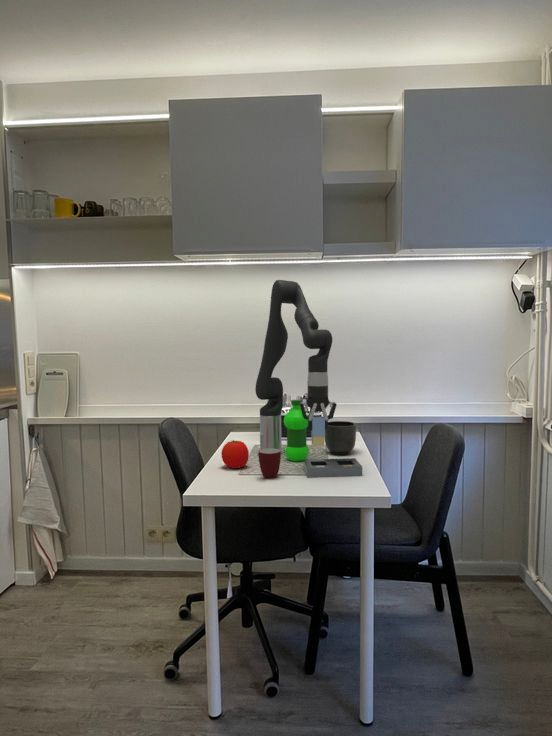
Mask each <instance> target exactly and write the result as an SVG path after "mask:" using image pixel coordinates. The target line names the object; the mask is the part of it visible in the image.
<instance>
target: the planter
mask: <svg viewBox="0 0 552 736" xmlns="http://www.w3.org/2000/svg"><path fill="white" fill-rule="evenodd" d="M356 439H357V424H356V423H355V422H353V421H346V420H331V421H328V428H327V429H326V431H325V436H324V445H325V447H326V449H327V450H328V451H329V452H330V453H331V454H332V455H335V456H347V455H349V454H350V453H351V452H352V451H353V450H354V448H355V445H356V442H357V441H356Z"/></svg>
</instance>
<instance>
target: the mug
mask: <svg viewBox="0 0 552 736" xmlns="http://www.w3.org/2000/svg"><path fill="white" fill-rule="evenodd" d="M281 458H282V454H281V451H280V450H279V449H273V448H268V449H261V450H260V449H259V450H258V463H259V468H260V472H261V475H262V477H263V478H264V479H268V480H269V479H276V478H277V476H278V474H279V471H280V467H281V460H282V459H281Z"/></svg>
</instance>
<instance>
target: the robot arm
mask: <svg viewBox="0 0 552 736" xmlns="http://www.w3.org/2000/svg"><path fill="white" fill-rule="evenodd" d="M269 304H270V305H269V315H268V322H267V328H266V332H265V339H264V345H263V352H262V357H261V363H260V367H259V370H258V374H257V378H256V382H255V389H254V390H255V395H256V397H257V399H259V400H263V401H265V400H266V401H267V403H265V405H263V406H261V407H260V409H259V425H260V426H259V427H260V428H259V450H261V449H268V448H273V449H279V450H280V451H281V455H282V453H283V452H282V447H283V446H282V444H283V443H282V409H283V403H284V386H283V382H282V380H281V379H280V378H279V377H274V376H273V377H272V375H273V372H274V370H275V368H276V366H277V365H278V363H279V362H280V361H281V359H282V358H283V356H284V355H285V353H286V350H287V346H288V340H289V339H288V338H289V334H288V330H287V328H286V326H285V325H286V324H285V323H284V320H283V317H282V304H289V305H290V304H291V305H294V307H295V311H294V320H295V323H296V325H297V327H298V328H299V330H300V333H301V336H302V342H303V345H304V346H305V347H306V348H307V349H310V350H318V352H317V353H316V354H313V355H311V356H309V357H308V361H307V366H308V367H307V369H308V370H307V371H308V372H307V398H306V401H304V402H302V403H300V404H299V405H300V409H301V412H302V415H303V418H304V419H307V420H308V426H307V429H308V430H309V431H310V432H311V431H312V418H313V417H314V415H315V413H319V412H320V413H322V416H323V417H324V418H325V431H326V429H327V428H328V422H329V420H332V419H333V418H334V415H335V413H336V412H335V411H336V409H337V403H336V402H335V401H334V402H333V401H330V399H329V375H328V374H329V372H328V361H329V357H330V353H331V347H332V345H333V336H332V333H331V331H330V330H328V329H319V327H320V325H319V322H318V320H317V319H316V317H315V315H314V314H313V313H312V311H311V310H310V307H309V305H308V302H307V300H306V297H305V294H304V293H303V290H302V288H301V285H300V284H299V283H298V282H296V281H293V280H285V279H277V280H274V282H273V285H272V287H271V295H270V303H269ZM307 406H308V407H309V413H308V416H306V414H307V412H306V408H307ZM328 406H329V407H330V409H329V413H327V411H326V409H327V407H328Z"/></svg>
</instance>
